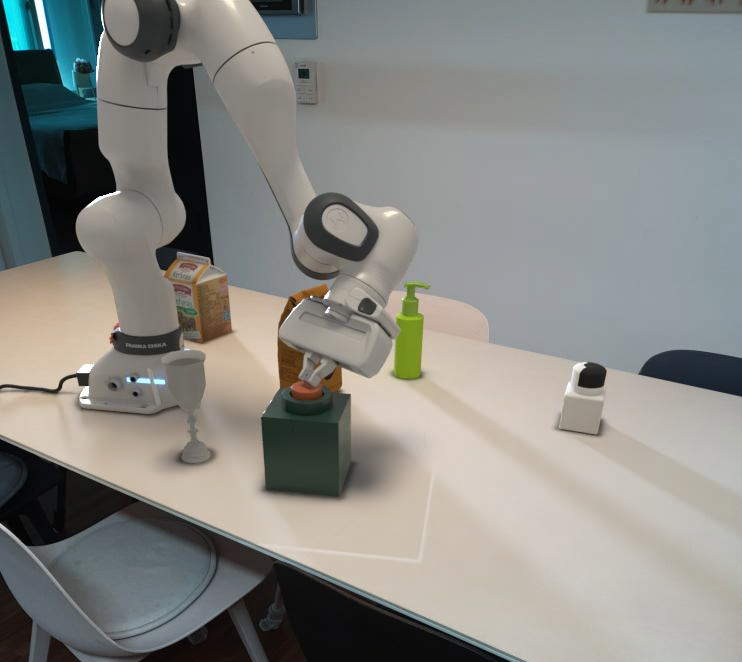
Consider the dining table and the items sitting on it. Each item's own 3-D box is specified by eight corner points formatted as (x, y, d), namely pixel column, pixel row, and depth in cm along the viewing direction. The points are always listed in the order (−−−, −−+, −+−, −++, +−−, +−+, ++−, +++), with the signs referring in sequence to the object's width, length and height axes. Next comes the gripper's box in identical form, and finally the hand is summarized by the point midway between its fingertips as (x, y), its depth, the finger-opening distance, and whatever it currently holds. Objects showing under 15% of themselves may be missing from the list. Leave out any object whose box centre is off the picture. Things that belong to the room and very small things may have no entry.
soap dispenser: (423, 380, 156) (428, 288, 145) (391, 377, 157) (394, 285, 147) (426, 370, 161) (432, 280, 150) (396, 367, 162) (399, 278, 151)
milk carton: (232, 331, 181) (225, 253, 171) (202, 343, 173) (193, 262, 163) (201, 323, 186) (192, 247, 176) (170, 335, 178) (160, 256, 168)
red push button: (288, 409, 111) (287, 391, 110) (296, 396, 115) (295, 379, 114) (319, 411, 111) (318, 393, 109) (325, 399, 115) (325, 381, 113)
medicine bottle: (599, 420, 141) (611, 361, 134) (597, 435, 135) (609, 375, 129) (562, 414, 143) (572, 356, 136) (558, 429, 137) (568, 369, 130)
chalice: (195, 470, 121) (182, 369, 112) (166, 459, 124) (151, 360, 115) (225, 452, 126) (215, 355, 117) (196, 442, 129) (184, 346, 120)
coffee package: (349, 392, 150) (350, 286, 138) (309, 412, 141) (306, 300, 130) (314, 380, 155) (311, 277, 143) (273, 398, 146) (266, 290, 135)
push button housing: (265, 489, 116) (259, 404, 108) (282, 457, 125) (278, 376, 117) (339, 496, 115) (338, 410, 107) (350, 463, 124) (351, 382, 116)
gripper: (297, 282, 116) (252, 355, 115) (390, 310, 104) (341, 392, 103) (318, 304, 121) (275, 374, 120) (409, 333, 109) (362, 411, 108)
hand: (306, 382), depth 111 cm, fingers closed, pressing on red push button
